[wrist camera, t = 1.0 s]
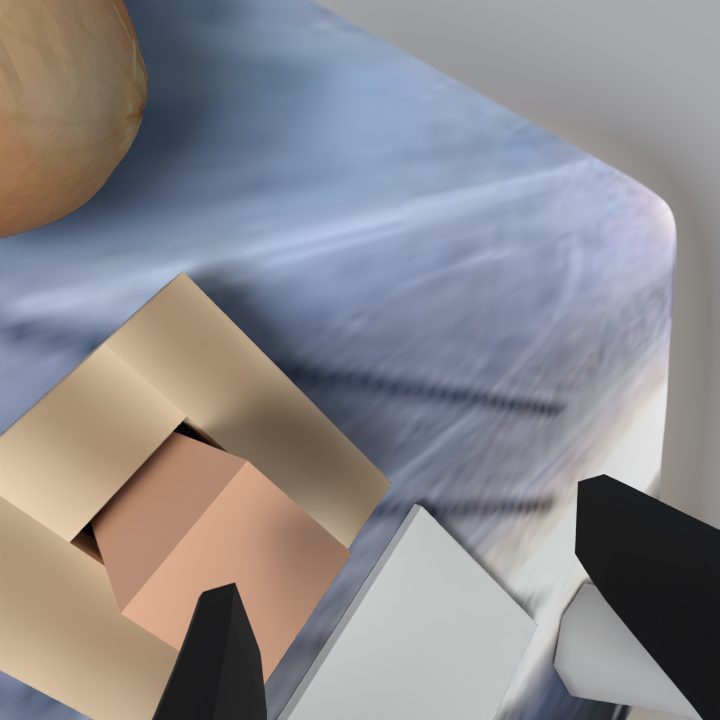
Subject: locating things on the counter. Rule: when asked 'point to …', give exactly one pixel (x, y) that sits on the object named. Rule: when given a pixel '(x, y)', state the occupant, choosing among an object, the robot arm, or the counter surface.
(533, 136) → the counter surface
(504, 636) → the mat
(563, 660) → the flask
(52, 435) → the pocket block
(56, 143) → the onion
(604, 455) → the counter surface
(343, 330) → the counter surface
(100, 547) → the peg
